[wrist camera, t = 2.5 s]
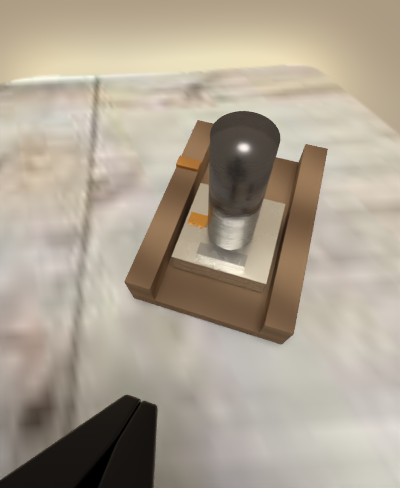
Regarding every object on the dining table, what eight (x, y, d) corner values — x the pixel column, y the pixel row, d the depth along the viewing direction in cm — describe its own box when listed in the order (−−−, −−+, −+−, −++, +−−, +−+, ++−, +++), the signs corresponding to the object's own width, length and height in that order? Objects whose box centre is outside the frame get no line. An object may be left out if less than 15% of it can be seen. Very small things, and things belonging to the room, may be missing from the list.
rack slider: (261, 292, 21) (303, 209, 12) (173, 266, 22) (154, 171, 13) (280, 216, 23) (324, 103, 15) (200, 196, 24) (199, 78, 16)
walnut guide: (281, 344, 20) (294, 332, 17) (134, 297, 22) (123, 280, 19) (315, 175, 26) (329, 146, 23) (198, 148, 28) (197, 117, 25)
